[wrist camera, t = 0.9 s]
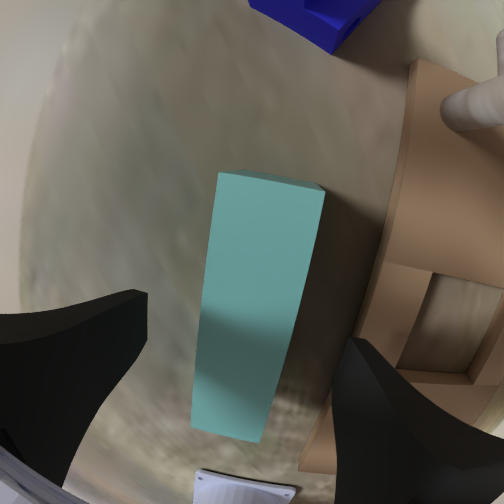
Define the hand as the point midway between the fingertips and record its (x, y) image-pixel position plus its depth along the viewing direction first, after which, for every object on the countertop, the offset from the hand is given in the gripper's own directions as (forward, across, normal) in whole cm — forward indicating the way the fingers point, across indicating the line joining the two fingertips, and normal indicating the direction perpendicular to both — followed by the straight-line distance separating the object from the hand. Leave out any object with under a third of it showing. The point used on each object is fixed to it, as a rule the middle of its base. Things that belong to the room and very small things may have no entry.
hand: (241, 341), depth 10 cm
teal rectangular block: (+5, 0, 0) cm, 5 cm away
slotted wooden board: (+4, -10, 0) cm, 11 cm away
